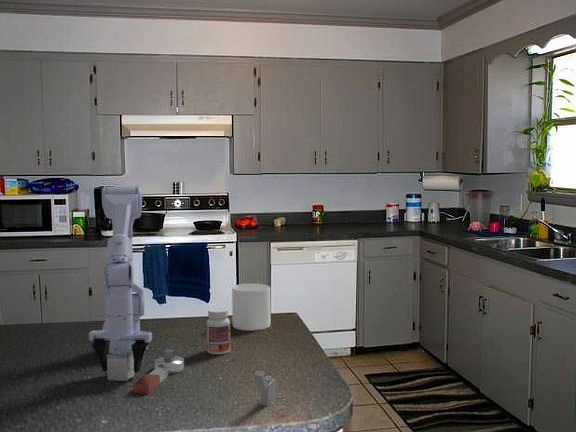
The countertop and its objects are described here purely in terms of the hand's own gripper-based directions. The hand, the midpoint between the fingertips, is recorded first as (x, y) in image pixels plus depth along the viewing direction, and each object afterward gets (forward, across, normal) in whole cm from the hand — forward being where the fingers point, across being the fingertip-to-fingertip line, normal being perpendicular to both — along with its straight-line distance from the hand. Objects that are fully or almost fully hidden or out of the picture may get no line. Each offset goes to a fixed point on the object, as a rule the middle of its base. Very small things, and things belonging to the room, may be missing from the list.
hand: (121, 370), depth 139 cm
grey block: (+1, 0, 0) cm, 1 cm away
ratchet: (+1, +9, 0) cm, 9 cm away
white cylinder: (+2, +22, +47) cm, 52 cm away
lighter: (+2, +36, -12) cm, 38 cm away
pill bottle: (+2, +18, +21) cm, 28 cm away
